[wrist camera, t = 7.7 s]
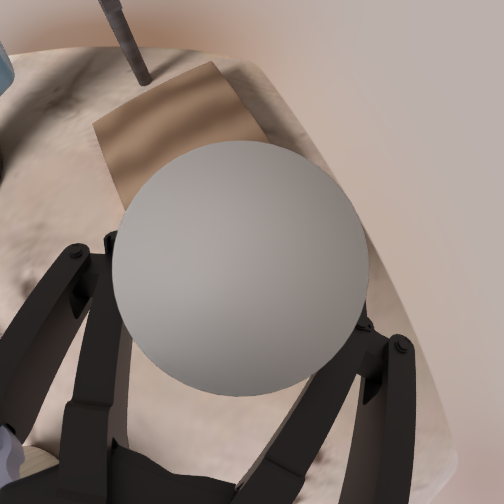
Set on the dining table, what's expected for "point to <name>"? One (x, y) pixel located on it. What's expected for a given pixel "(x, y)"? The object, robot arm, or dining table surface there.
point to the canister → (36, 461)
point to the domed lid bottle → (240, 268)
